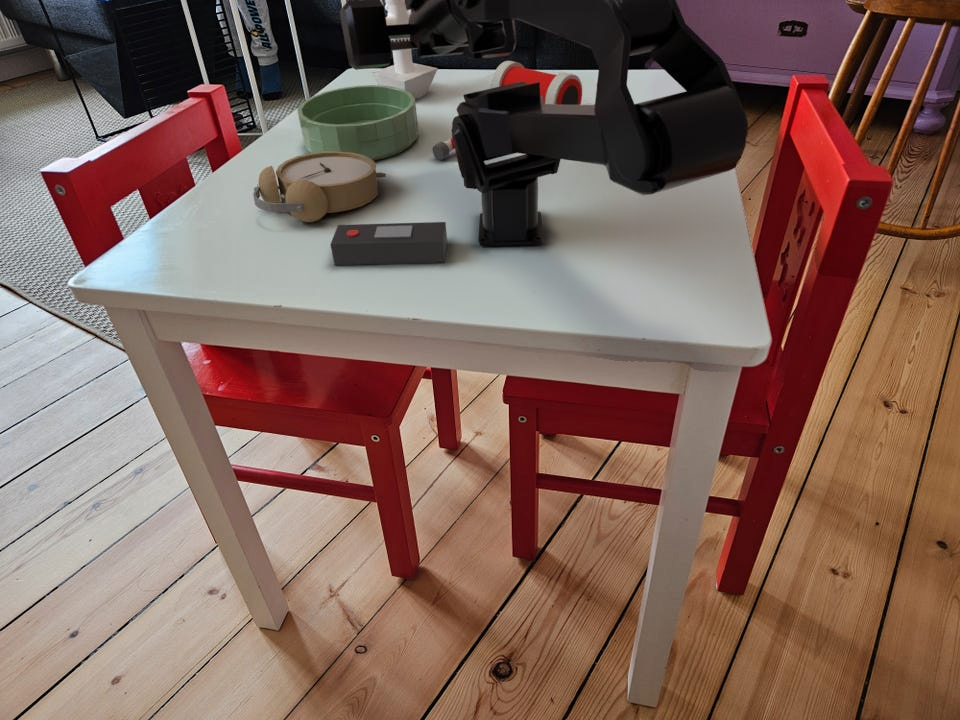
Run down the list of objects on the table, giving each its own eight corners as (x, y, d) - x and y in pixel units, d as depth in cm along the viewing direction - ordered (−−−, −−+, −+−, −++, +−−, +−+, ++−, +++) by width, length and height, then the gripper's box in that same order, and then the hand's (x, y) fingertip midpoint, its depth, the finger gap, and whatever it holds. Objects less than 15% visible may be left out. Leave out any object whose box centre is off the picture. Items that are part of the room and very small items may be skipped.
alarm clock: (398, 165, 81) (289, 191, 70) (398, 207, 83) (293, 237, 73) (335, 144, 87) (226, 164, 76) (336, 183, 89) (231, 208, 79)
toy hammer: (471, 172, 85) (468, 120, 81) (405, 149, 92) (400, 100, 88) (583, 116, 98) (585, 69, 94) (518, 100, 104) (518, 55, 100)
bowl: (412, 162, 88) (407, 123, 85) (293, 166, 89) (284, 128, 86) (423, 119, 100) (420, 83, 97) (318, 122, 101) (311, 87, 98)
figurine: (444, 90, 109) (436, -17, 100) (401, 108, 104) (388, -3, 94) (411, 82, 113) (400, -21, 104) (368, 100, 108) (352, -8, 98)
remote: (447, 242, 72) (445, 220, 71) (444, 262, 69) (442, 239, 68) (342, 245, 73) (337, 223, 71) (334, 265, 70) (329, 242, 68)
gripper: (530, -83, 69) (469, -31, 84) (346, -80, 63) (314, -24, 77) (544, 38, 72) (483, 69, 86) (370, 52, 66) (335, 83, 80)
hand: (407, 48), depth 82 cm, fingers open, 9 cm apart
